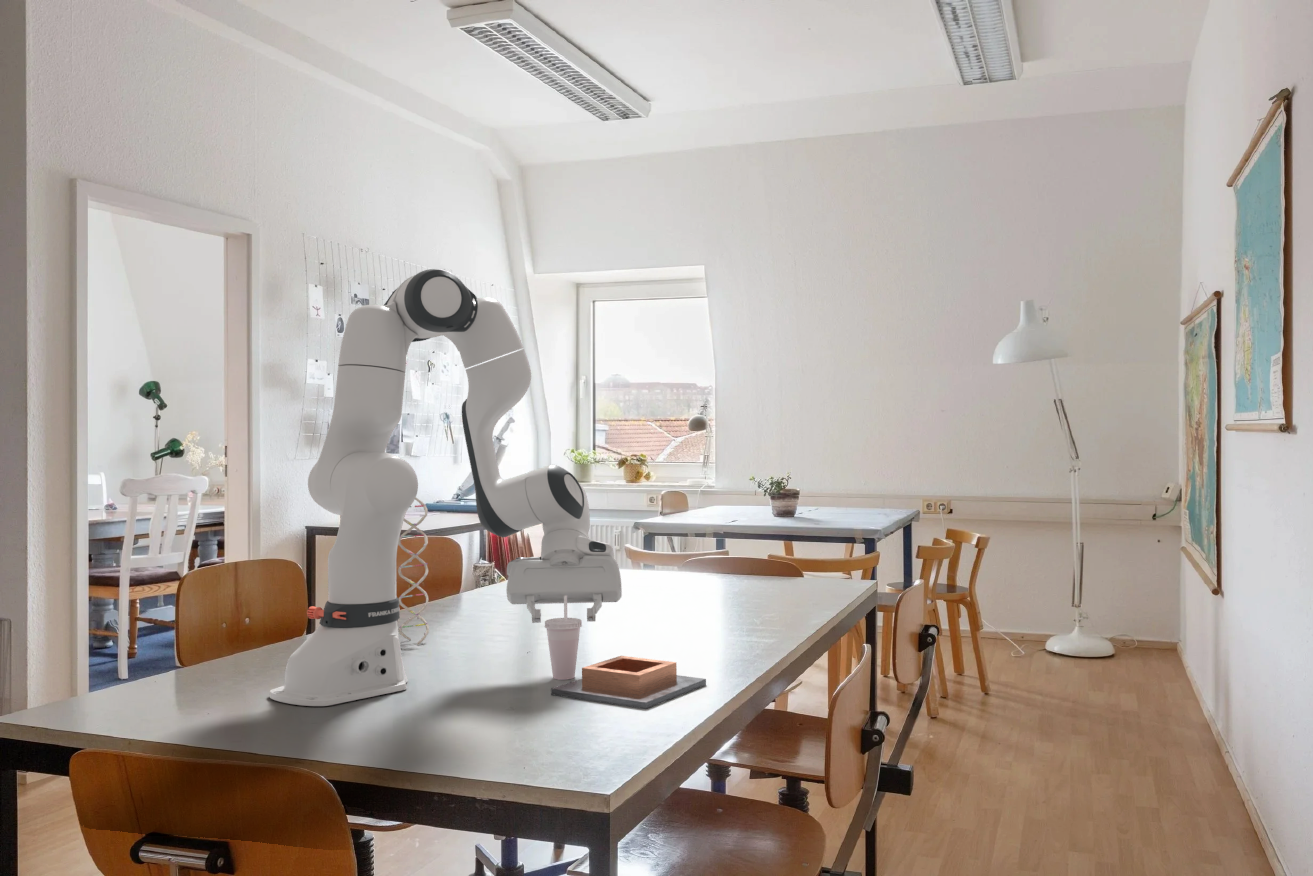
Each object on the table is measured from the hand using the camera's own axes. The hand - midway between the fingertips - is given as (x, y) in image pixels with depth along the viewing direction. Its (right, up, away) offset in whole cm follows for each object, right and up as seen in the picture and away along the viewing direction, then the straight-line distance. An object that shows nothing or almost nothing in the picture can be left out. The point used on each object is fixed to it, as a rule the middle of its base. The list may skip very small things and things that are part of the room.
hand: (563, 620), depth 181 cm
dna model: (-33, -10, +32) cm, 47 cm away
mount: (+12, -9, -11) cm, 18 cm away
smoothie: (0, -10, -1) cm, 10 cm away
